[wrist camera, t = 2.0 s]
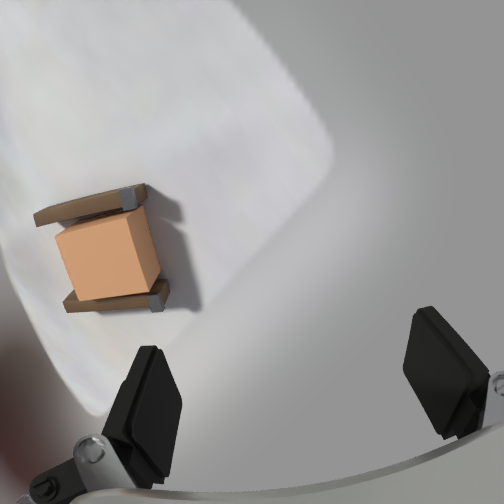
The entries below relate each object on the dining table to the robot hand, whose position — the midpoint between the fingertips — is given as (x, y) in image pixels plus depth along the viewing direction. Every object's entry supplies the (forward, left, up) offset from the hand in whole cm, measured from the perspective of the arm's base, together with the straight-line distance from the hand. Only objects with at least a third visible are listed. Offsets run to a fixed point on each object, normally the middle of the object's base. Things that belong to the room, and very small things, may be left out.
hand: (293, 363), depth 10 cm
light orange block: (0, -13, -16) cm, 21 cm away
